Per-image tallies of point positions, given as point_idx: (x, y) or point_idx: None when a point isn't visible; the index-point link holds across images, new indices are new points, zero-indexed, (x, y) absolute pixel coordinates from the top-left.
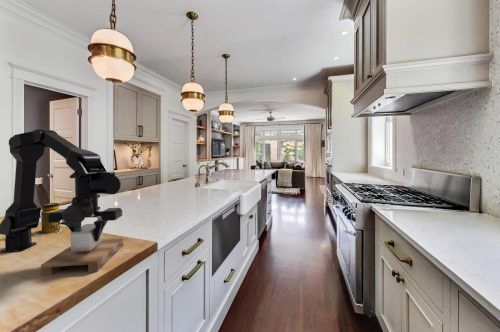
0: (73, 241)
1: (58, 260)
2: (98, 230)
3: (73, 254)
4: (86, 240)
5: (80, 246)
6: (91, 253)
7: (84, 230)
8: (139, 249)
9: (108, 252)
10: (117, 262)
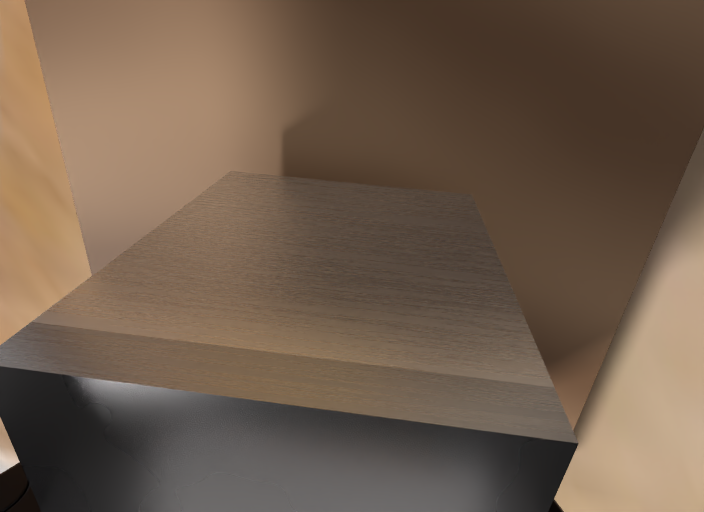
0: (451, 265)
1: (574, 30)
2: (3, 479)
3: None
4: (196, 238)
5: (332, 206)
6: None
7: (203, 484)
8: (10, 334)
9: (85, 199)
10: (31, 110)
